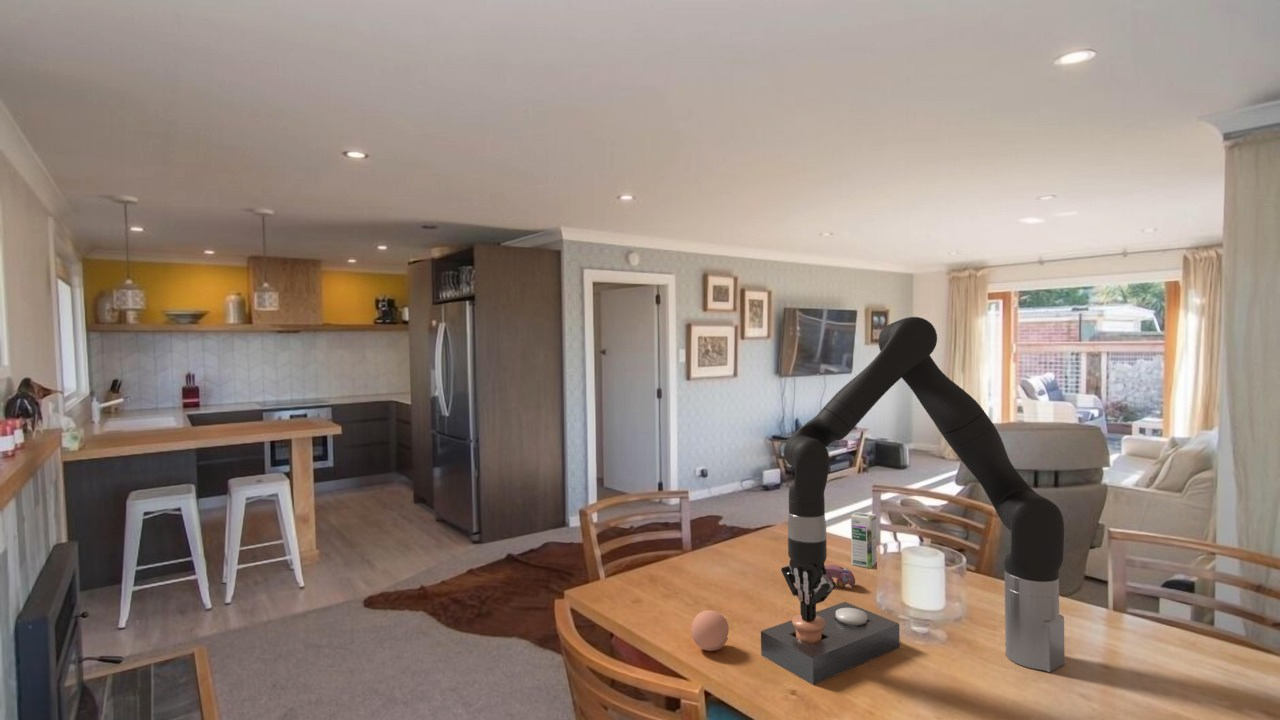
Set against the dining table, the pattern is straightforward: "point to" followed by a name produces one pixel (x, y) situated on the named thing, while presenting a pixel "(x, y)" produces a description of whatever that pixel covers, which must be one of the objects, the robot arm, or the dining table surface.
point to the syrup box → (863, 539)
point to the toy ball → (710, 630)
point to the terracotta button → (808, 629)
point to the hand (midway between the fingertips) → (808, 620)
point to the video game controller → (840, 575)
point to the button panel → (830, 645)
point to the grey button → (851, 616)
